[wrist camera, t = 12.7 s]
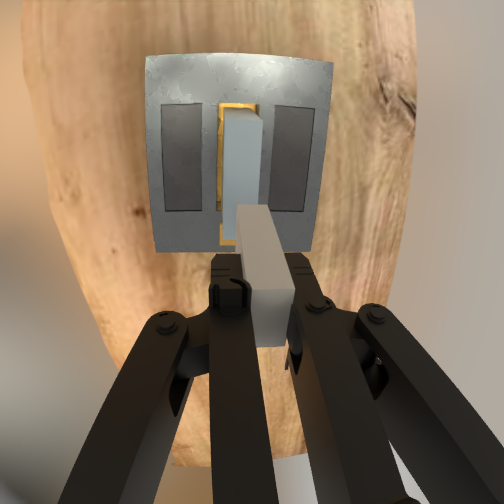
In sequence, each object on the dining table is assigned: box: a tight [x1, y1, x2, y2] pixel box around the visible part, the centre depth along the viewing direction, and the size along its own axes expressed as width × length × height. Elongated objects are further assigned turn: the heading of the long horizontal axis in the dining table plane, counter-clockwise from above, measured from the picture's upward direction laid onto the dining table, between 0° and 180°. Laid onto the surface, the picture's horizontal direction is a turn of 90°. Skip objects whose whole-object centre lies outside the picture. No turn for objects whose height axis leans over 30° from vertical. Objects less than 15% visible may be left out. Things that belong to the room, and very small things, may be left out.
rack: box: [145, 53, 334, 252], centre depth 29 cm, size 20×18×4 cm
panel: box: [222, 107, 263, 240], centre depth 26 cm, size 9×2×10 cm, turn 177°
